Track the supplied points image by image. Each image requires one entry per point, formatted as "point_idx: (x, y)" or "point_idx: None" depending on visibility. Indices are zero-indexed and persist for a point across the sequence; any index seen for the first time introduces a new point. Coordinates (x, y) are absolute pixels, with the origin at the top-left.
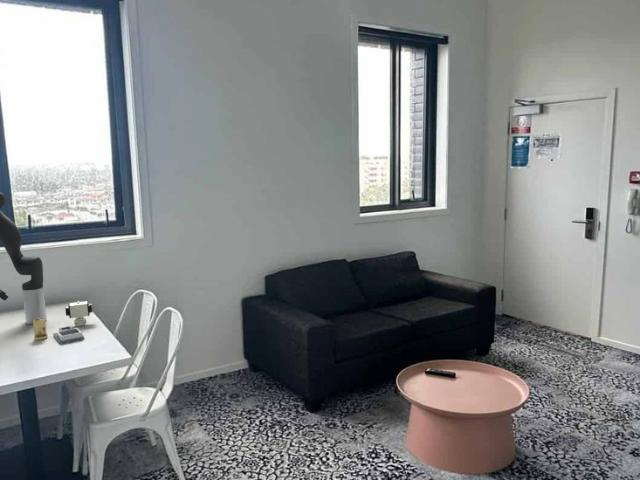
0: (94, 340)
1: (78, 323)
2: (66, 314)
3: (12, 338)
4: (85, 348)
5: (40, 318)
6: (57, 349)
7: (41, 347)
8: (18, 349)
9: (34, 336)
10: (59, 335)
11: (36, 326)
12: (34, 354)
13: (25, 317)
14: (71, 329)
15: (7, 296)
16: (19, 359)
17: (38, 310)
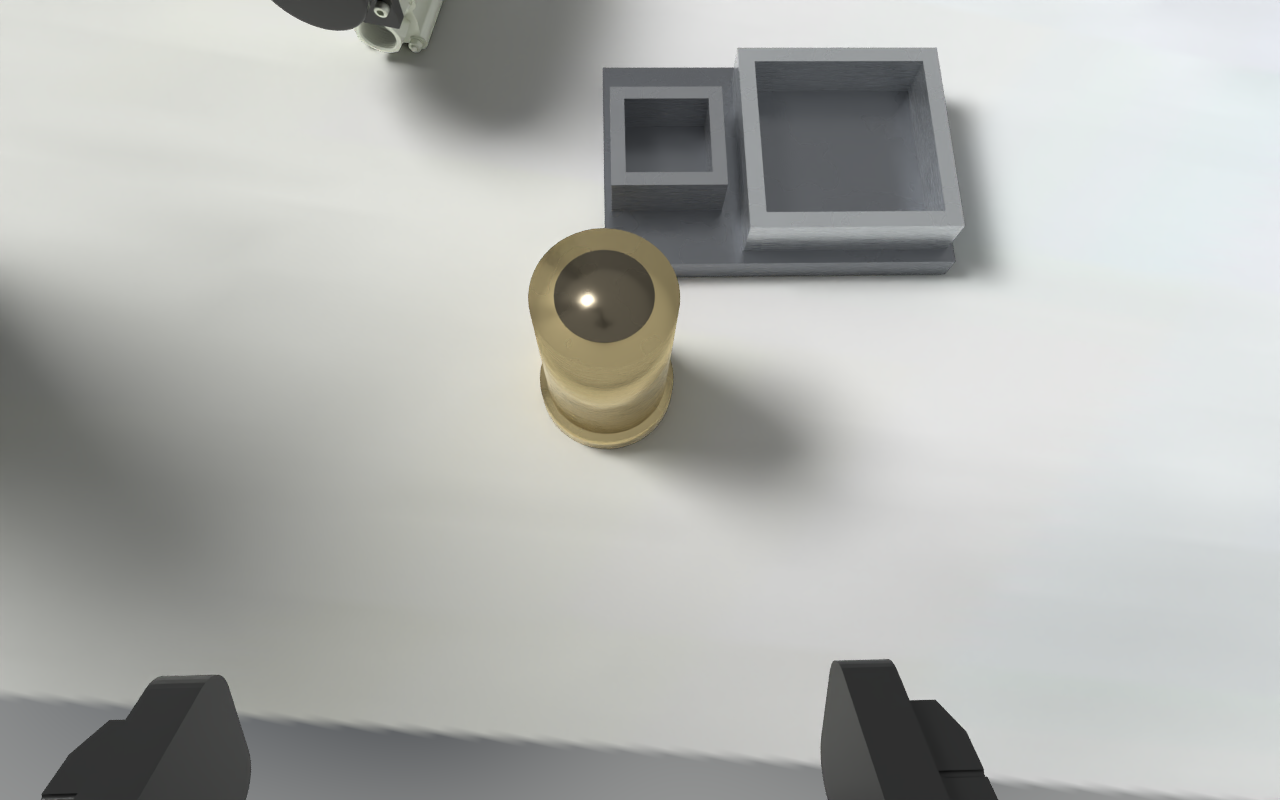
0: (1009, 32)
1: (424, 16)
2: (366, 15)
3: (366, 646)
4: (1205, 130)
5: (580, 274)
6: (1100, 318)
7: (943, 428)
8: (868, 634)
9: (580, 434)
10: (910, 226)
11: (658, 368)
12: (1144, 516)
13: None
14: (756, 100)
15: (896, 681)
16: (1235, 664)
17: None
